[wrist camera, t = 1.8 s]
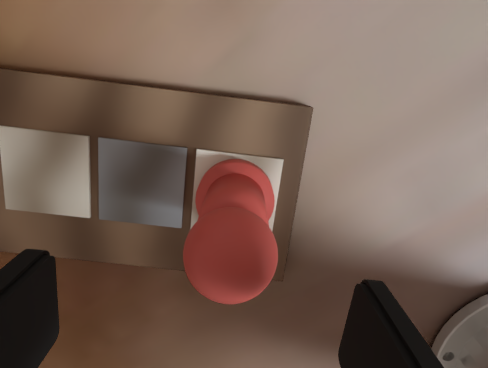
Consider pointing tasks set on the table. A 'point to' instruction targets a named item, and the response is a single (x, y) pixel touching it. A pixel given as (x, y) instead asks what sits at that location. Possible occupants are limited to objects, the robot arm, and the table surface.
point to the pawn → (232, 233)
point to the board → (131, 165)
